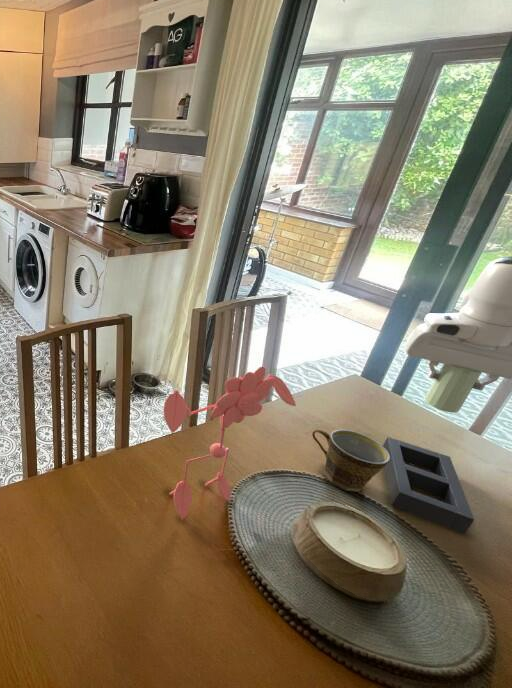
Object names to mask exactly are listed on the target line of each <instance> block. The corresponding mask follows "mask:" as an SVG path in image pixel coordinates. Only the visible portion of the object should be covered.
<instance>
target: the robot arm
mask: <svg viewBox="0 0 512 688" xmlns="http://www.w3.org/2000/svg"><path fill="white" fill-rule="evenodd" d="M423 322H424V323H421V324H419V325H416V327H415V328H414V329H413V330H412V331H411V332H410V334H409V336H408V337H407V339H406V340H405V342H404V346H403V348H404V351H405V353H406V355H407V356H409V357H413V358H417V359H421V360H426V361H427V364H428V367H429V370H428V372H427V378H428V379H429V378H430V379H433V380H435V379H438V377H439V376H440V372H439V370H440V369H439V370H438V369H436V368H435V367H438V366H439V364H442V365H443V364H447V365H453V366H457V367H461V368H466V369H470V370H474V371H479V372H482V373H483V374H485V375H486V376H483V377H482V378H480V379H478V380H477V381H476V383H475V385H474V386H473V388H472V390H477V391H480V392H482V391H483V390H484V389H485V387H486V386H488V385H490V384H493V383H494V382H497V381H498V380H499V379H500V377H501V378H504V379H509V380H512V256H505V257H500V258H497V259H494V260H493V261H491V262H490V263H488V264H487V265H486V266H485V268H484V269H482V271H481V273H480V274H479V276H478V277H477V279H476V280H475V283H473V285H472V288H471V289H470V291H469V297H468V301H467V302H466V303H465V305H463V306H462V307H461V309H460V310H459V312H445V313H443V312H442V313H441V312H439V313H428V314H426V315H425V316H424V319H423ZM482 373H481V374H482Z"/></svg>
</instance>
